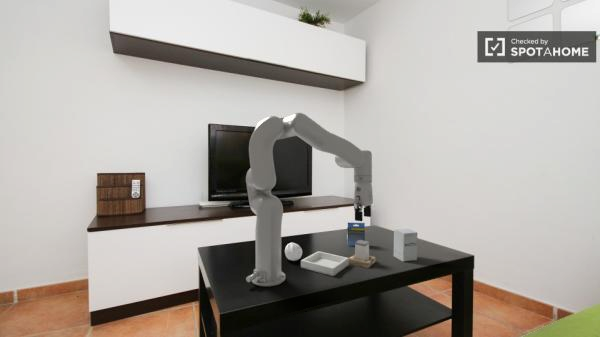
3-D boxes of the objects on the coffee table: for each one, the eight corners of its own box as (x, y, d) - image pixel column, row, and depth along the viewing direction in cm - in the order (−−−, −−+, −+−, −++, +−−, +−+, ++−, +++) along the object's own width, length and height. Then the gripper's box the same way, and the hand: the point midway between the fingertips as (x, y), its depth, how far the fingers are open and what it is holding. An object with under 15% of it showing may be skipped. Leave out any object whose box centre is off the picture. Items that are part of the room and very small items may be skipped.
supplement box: (403, 262, 119) (403, 233, 118) (393, 256, 126) (393, 229, 125) (417, 260, 121) (418, 232, 120) (406, 254, 128) (407, 228, 127)
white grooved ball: (295, 264, 115) (295, 246, 115) (281, 261, 119) (281, 243, 119) (305, 259, 122) (305, 241, 122) (291, 255, 126) (291, 239, 126)
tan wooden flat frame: (368, 268, 112) (368, 263, 112) (348, 263, 117) (348, 258, 117) (375, 261, 119) (375, 256, 119) (356, 257, 124) (356, 252, 124)
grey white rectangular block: (365, 265, 115) (365, 244, 115) (355, 262, 117) (355, 242, 117) (368, 262, 119) (369, 241, 118) (359, 259, 121) (359, 239, 121)
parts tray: (333, 276, 104) (333, 268, 104) (300, 267, 112) (300, 260, 112) (348, 264, 115) (348, 257, 115) (318, 257, 124) (318, 251, 124)
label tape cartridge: (363, 244, 144) (364, 221, 143) (364, 246, 140) (365, 222, 139) (346, 243, 145) (347, 220, 144) (347, 246, 141) (347, 222, 140)
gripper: (363, 181, 108) (363, 223, 108) (378, 178, 122) (378, 216, 123) (346, 180, 112) (346, 221, 113) (362, 177, 126) (362, 214, 127)
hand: (363, 218), depth 118 cm, fingers open, 9 cm apart
